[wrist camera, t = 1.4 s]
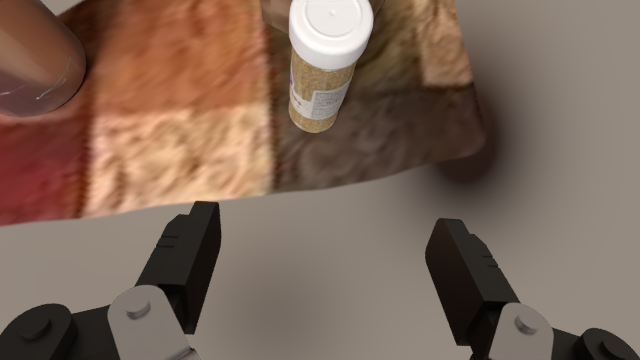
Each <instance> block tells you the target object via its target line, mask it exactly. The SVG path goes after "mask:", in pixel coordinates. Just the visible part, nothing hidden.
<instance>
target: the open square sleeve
mask: <svg viewBox="0 0 640 360" xmlns="http://www.w3.org/2000/svg"><path fill="white" fill-rule="evenodd" d="M292 1H293V0H261V7H262V16H263V21H264V22H266V23H268V24H270V25H271V26H273V27H275V28H277V29H279V30H281V31H282V32H284V33H286V34H288V35H289V14H290V6H291V3H292ZM368 1H369V3H370V5H371V8H372V11H373V19H374V18H375V16H376V14H377V12H378V11H379V9H380V7H381V6H382V4H383V2H384V0H368Z"/></svg>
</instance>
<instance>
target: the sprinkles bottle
mask: <svg viewBox="0 0 640 360" xmlns="http://www.w3.org/2000/svg"><path fill="white" fill-rule="evenodd" d="M372 28H373V11H372V8H371V5H370V3H369V1H368V0H293V1H292V3H291V6H290V14H289V36H290V40H291V43H292V60H291V79H290V102H289V114H290V117H291V119H292V121H293V122H294V123H295V125H296V126H297V127H299V128H300V129H302V130H305V131H307V132H311V133H318V132H322V131H325V130H327V129H328V128H330V127H331V126H332V125H333V124H334V122H335V120H336V118H337V115H338V109H339V108H340V106H341V104H342V102H343V99H344V96H345V94H346V91H347V89H348V86H349V84H350V81H351V79H352V76H353V73H354V69H355V66H356V63H357V60H358V58H359V57H360V56H361V55H362V53H363V51H364V50H365V48H366V45H367V43H368V40H369V37H370V34H371V31H372Z"/></svg>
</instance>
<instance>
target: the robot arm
mask: <svg viewBox="0 0 640 360" xmlns="http://www.w3.org/2000/svg"><path fill="white" fill-rule="evenodd" d="M85 71H86V56H85V51H84V49H83V46H82V44H81V42H80V41H79V40H78V38H77V37H76V35H75V34H74V33H73V32H72V31H71V30H70V29H69V28H68V27H67V26H66V25H64V24H63V23H62V22H61V21H60V20H59V19H58V18H57V17H56V16H55V15H54V14H53V13H52V12H51V11H50V10H49V9H48V8H47V7H46V6H45V5H44V4H43V3H42V2H41V1H40V0H0V113H2V114H5V115H8V116H15V117H31V116H37V115H41V114H44V113H47V112H50V111H52V110H54V109H56V108H58V107H59V106H61V105H62V104H64V103H65V102H66V101H68V100H69V99H70V98H71V97H72V96H73V95H74V94H75V92H76V91H77V89H78V88H79V86H80V85H81V83H82V80H83V78H84V75H85ZM220 246H221V224H220V209H219V203H218V202H208V201H196V202H195V203H194V205H193V207H192V209H191V211H190V214H189V215H181V214H179V215H177V216H176V217H175V218H174V219H173V220H171V221H170V222H169V223H168V224H167V226H166V227H165V229H164V231H163V234H162V235H161V238H160V239H159V241H158V243H157V245H156V248H155V249H154V250H153V252H152V254H151V256H150V258H149V260H148V262H147V264H146V265H145V267H144V270H143V271H142V273H141V275H140V277H139V279H138V281H137V283H136V284H135V286H134V287H133V288H130V289H128V290H126V291H125V292H123V293H122V294H120V295H119V296H118V297H117V298H116V299H115V300H114V301H113V302H112V304H110V305H107V306H104V307H100V308H96V309H91V310H87V311H83V312H78V313H73V314H71V313H70V311H69V309H68V308H67V307H66V306H63V305H60V304H44V305H41V306H37V307H34V308H32V309H30V310H28V311H26V312H24V313H22V314H21V315H19V316H18V317H17V318H15V319H14V320H13V321H12V322H11V323H10V324H9V325H8V326H7V327H6V328H5V329H4V331H3V332H2V333H1V335H0V360H201V359H200V357H199V355H198V354H197V352H196V351H195V349H194V348H193V349H192V348H191V347H190V345H189V343H188V341H187V339H186V337H185V335H184V334H192V335H193V334H194V333H195V330H196V327H197V323H198V320H199V317H200V313H201V310H202V307H203V303H204V300H205V297H206V293H207V290H208V287H209V283H210V281H211V277H212V274H213V271H214V267H215V264H216V260H217V258H218V254H219V251H220ZM492 257H493V256H492V254H491V253H490V251H489V249H488V248H487V246H486V244H484V243H483V242H482V241H481V240H480V239H479V238H478V237H477V236H475V234H469V232H468V230H467V228H466V226H465V225H464V223H463V221H462V220H460V219H447V218H439V219H438V220H437V222H436V225H435V226H434V229H433V232H432V234H431V237H430V239H429V242H428V244H427V247H426V251H425V259H426V264H427V267H428V269H429V272H430V275H431V277H432V280H433V283H434V285H435V288H436V291H437V294H438V296H439V299H440V302H441V304H442V307H443V310H444V312H445V315H446V317H447V320H448V323H449V326H450V328H451V331H452V333H453V336H454V339H455V342H456V344H457V345H459V346H471V349H472V352H473V354H472V355H471V357H470V359H469V360H640V358H639V356H638V355H637V354H636V353H635V351H634V350H633V349H632V348H631V347H630V346H629V345H628V344H627V343H626V342H624V341H623V340H622V339H620V338H619V337H617V336H616V335H614V334H612V333H610V332H608V331H606V330H602V329H598V328H590V329H587V330H586V331H585V332H584V333H583V334H582V335H581V336H576V335H573V334H570V333H567V332H564V331H561V330H558V329H555V328H552V327H551V326H550V324H549V323H548V322H547V320H546V319H545V318H544V317H543V316H542V315H541V314H539V313H538V312H537V311H536V310H534V309H532V308H531V307H529V306H526V305H524V304H521V303H520V301H519V300H518V298H517V296H516V294H515V293H514V291H513V289H512V288H511V286H510V284H509V283H508V281H507V279H506V278H505V276H504V274H503V273H502V271H501V269H500V268H498V264H497V263H496V261H495V259H493V258H492Z"/></svg>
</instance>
